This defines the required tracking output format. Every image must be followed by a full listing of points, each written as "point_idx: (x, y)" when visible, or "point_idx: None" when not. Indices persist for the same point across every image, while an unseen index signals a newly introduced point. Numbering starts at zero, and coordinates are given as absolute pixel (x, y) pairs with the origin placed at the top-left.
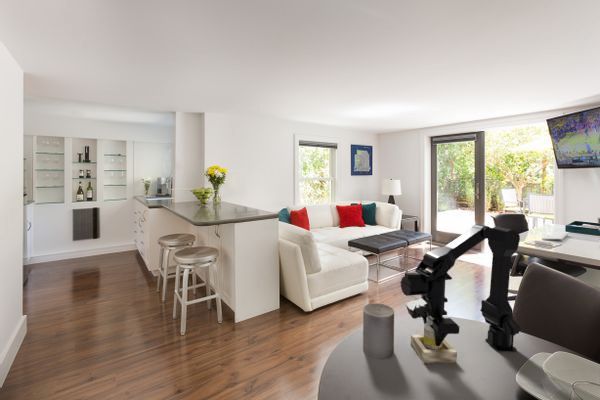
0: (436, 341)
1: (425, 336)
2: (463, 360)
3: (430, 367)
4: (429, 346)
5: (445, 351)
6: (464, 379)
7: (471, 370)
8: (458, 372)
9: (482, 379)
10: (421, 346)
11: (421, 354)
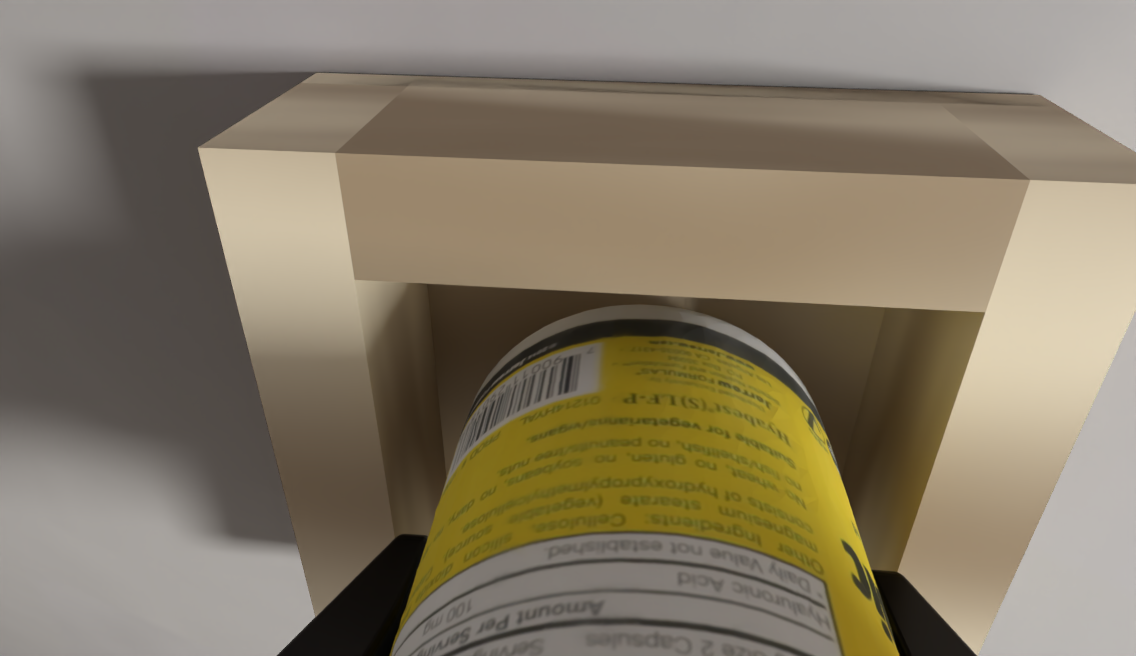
0: (300, 633)
1: (605, 508)
2: None
3: None
4: (501, 399)
5: (335, 581)
6: (47, 467)
7: (264, 618)
8: (183, 477)
9: (116, 624)
10: (498, 211)
11: (407, 109)
